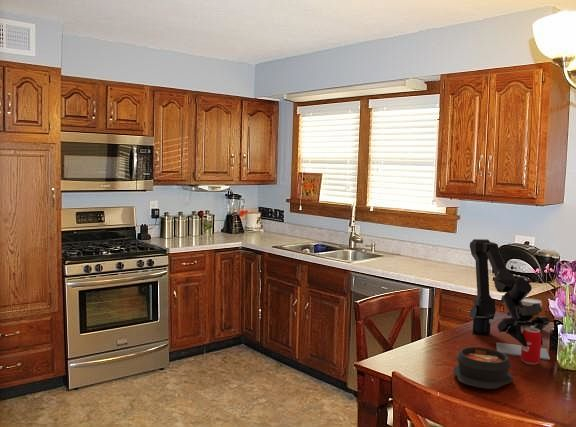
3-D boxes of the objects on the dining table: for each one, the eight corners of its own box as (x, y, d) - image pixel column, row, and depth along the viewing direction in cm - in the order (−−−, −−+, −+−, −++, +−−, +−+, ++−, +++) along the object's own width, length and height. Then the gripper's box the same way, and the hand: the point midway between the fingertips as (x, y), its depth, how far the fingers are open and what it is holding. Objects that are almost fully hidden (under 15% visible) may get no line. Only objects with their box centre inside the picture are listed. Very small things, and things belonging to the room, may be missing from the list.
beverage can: (523, 357, 198) (525, 325, 197) (541, 362, 194) (543, 329, 193) (518, 362, 193) (520, 329, 192) (536, 366, 189) (539, 333, 188)
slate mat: (496, 353, 202) (497, 351, 202) (496, 343, 213) (496, 342, 213) (549, 360, 196) (550, 358, 196) (546, 350, 207) (546, 348, 207)
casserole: (460, 362, 192) (461, 339, 191) (516, 372, 183) (518, 348, 182) (444, 386, 170) (446, 360, 169) (508, 399, 161) (510, 372, 160)
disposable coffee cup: (540, 326, 240) (542, 299, 239) (540, 331, 231) (542, 304, 230) (517, 322, 244) (519, 296, 243) (516, 328, 235) (518, 301, 234)
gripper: (504, 296, 193) (523, 336, 183) (548, 294, 198) (569, 333, 188) (489, 312, 201) (506, 351, 191) (532, 310, 206) (551, 347, 196)
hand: (533, 345), depth 192 cm, fingers closed on beverage can, 6 cm apart
